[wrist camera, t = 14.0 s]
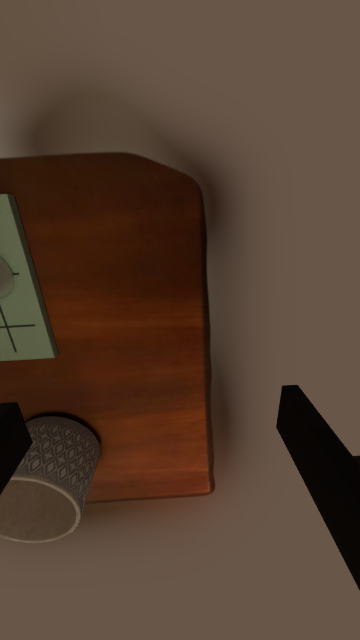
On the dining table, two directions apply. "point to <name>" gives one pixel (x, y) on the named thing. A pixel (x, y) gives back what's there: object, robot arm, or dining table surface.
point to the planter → (49, 482)
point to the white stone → (5, 279)
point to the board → (21, 295)
